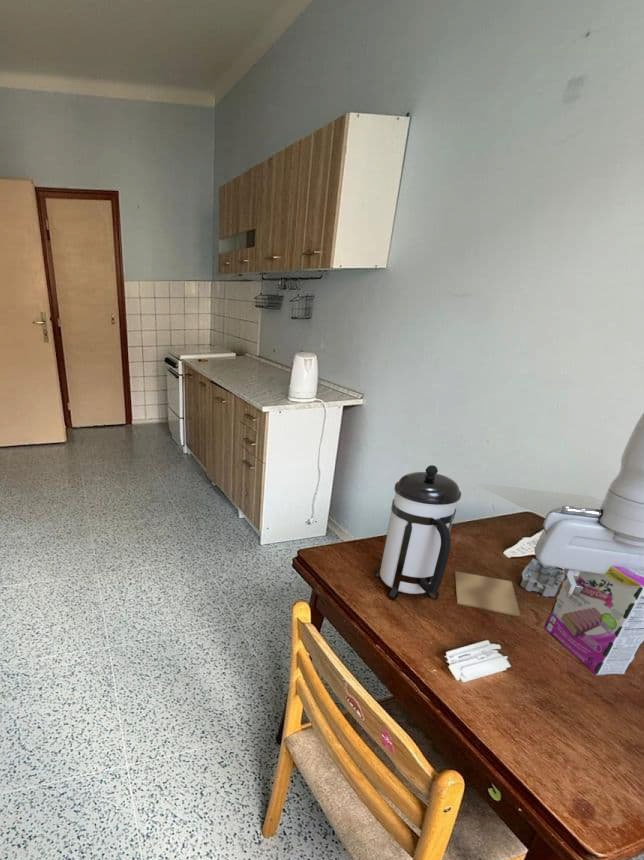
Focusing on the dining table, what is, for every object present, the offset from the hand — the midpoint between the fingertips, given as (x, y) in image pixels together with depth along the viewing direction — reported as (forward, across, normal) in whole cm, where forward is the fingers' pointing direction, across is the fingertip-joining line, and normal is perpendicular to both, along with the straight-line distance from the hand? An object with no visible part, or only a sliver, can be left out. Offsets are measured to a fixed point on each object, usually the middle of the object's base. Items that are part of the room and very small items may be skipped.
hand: (603, 598), depth 70 cm
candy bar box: (+10, 0, 0) cm, 10 cm away
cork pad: (+21, -8, +31) cm, 38 cm away
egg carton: (+22, +4, +40) cm, 46 cm away
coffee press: (+21, -24, +26) cm, 41 cm away
